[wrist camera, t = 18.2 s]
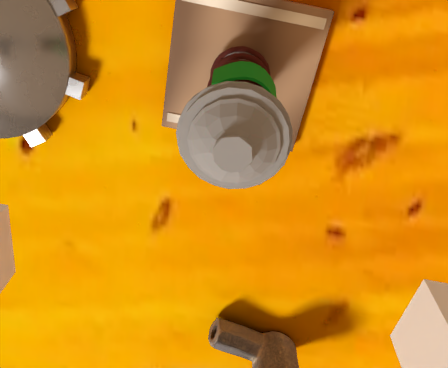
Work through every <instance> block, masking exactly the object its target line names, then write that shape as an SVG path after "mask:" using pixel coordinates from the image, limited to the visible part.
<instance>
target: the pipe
mask: <svg viewBox="0 0 448 368" xmlns="http://www.w3.org/2000/svg"><path fill="white" fill-rule="evenodd" d="M208 339H209V342H210V345H211V346H212V347H213V348H215V349H218V350H221V351H224V352H227V353H230V354H233V355H236V356H240V357H243V358H245V359H248V360H250V361H252V366H253V367H252V368H299V365H298V360H297V352H296V347H295V344H294V342H293V341H292V340H291V339H290V338H289V337H288V336H286V335H285V334H283V333H280V332H276V331H271V332H266V333H260V332H258V331H255V330H253V329H250V328H247V327H245V326H242V325H239V324H236V323H234V322H231V321H227V320H224V319H221V318H216V320H215V321H214V322H213V324H212V325H211V327H210V331H209V337H208Z"/></svg>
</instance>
